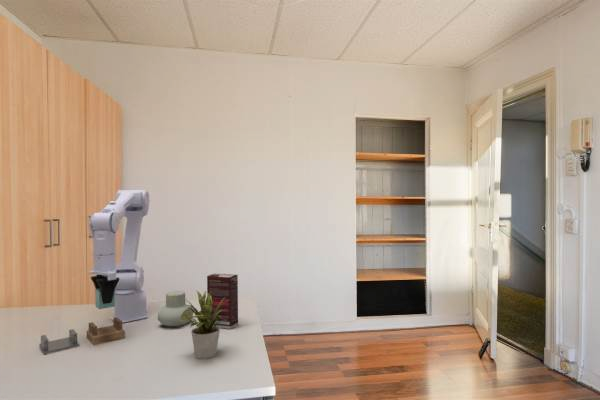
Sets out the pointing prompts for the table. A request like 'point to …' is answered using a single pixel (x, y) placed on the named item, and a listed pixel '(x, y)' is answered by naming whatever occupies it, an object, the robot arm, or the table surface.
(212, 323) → the house plant
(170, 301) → the air freshener
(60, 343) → the lower dock
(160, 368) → the table surface
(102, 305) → the plug
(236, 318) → the supplement box
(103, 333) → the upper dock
